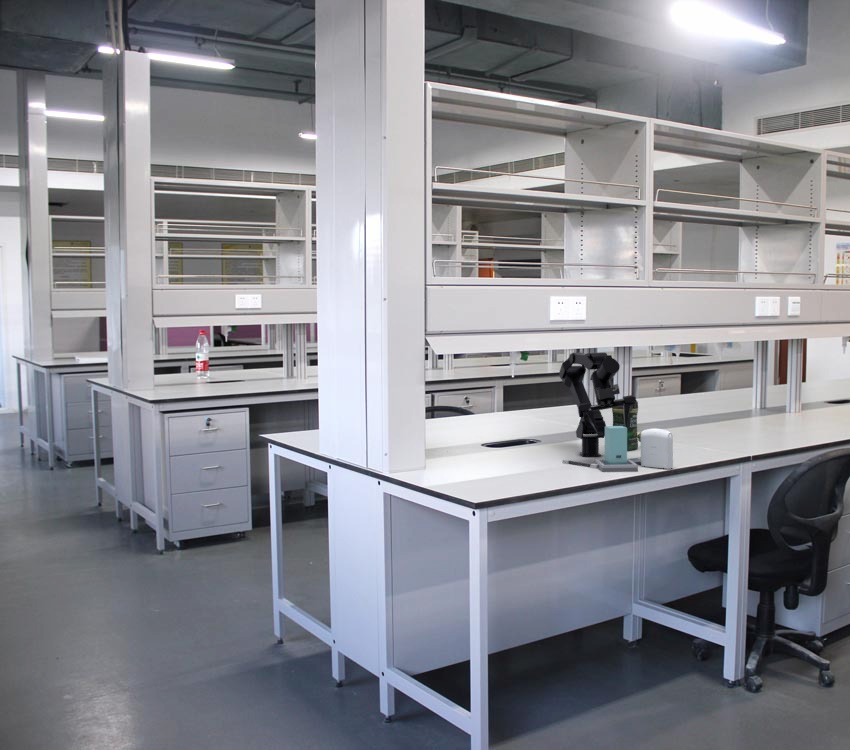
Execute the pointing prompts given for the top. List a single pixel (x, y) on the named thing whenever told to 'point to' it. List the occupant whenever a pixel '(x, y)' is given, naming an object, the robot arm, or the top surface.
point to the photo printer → (657, 448)
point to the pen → (580, 463)
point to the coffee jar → (631, 425)
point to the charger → (615, 445)
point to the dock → (616, 466)
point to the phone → (636, 461)
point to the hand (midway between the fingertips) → (612, 430)
